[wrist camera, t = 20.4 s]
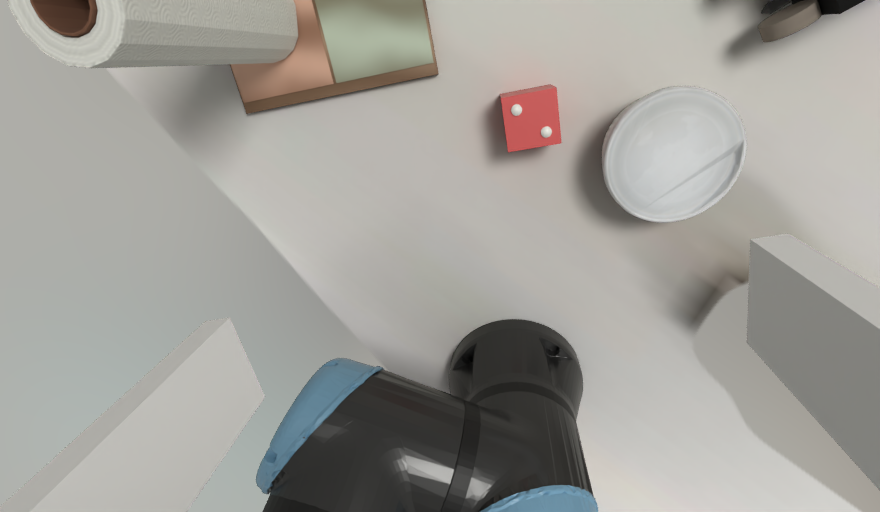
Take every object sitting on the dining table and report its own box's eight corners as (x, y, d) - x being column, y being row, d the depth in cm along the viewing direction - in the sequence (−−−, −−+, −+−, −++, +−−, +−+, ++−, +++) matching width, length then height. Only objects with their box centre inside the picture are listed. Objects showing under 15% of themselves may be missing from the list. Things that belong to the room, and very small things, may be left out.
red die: (554, 134, 43) (561, 143, 38) (506, 143, 43) (508, 152, 39) (550, 84, 41) (556, 87, 37) (500, 94, 42) (500, 98, 37)
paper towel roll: (261, 75, 43) (64, 91, 23) (221, 11, 41) (-30, -30, 21) (323, 34, 40) (164, 13, 21) (283, -36, 39) (69, -129, 19)
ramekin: (680, 220, 45) (703, 240, 40) (572, 185, 44) (581, 201, 40) (744, 105, 40) (778, 112, 35) (624, 66, 40) (641, 67, 35)
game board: (438, 73, 42) (437, 74, 41) (250, 112, 45) (246, 113, 44) (405, -112, 36) (402, -116, 36) (195, -52, 40) (188, -55, 39)
